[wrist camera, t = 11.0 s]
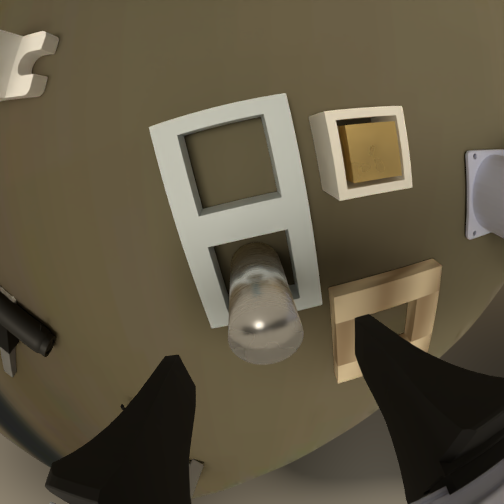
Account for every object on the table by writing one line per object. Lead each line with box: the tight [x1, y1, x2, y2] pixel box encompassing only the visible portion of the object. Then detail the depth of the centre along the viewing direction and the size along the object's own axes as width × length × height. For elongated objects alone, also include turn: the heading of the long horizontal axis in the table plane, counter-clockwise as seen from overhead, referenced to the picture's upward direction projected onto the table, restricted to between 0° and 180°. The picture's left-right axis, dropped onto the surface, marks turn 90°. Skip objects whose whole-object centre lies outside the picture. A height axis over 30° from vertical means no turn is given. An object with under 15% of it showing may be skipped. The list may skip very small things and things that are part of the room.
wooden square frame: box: [328, 258, 442, 383], centre depth 22 cm, size 10×10×2 cm
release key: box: [337, 121, 402, 183], centre depth 15 cm, size 3×3×3 cm
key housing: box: [309, 106, 412, 201], centre depth 15 cm, size 5×5×4 cm
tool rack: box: [149, 93, 322, 328], centre depth 18 cm, size 8×14×2 cm, turn 13°
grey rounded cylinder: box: [228, 242, 303, 364], centre depth 16 cm, size 4×4×8 cm
